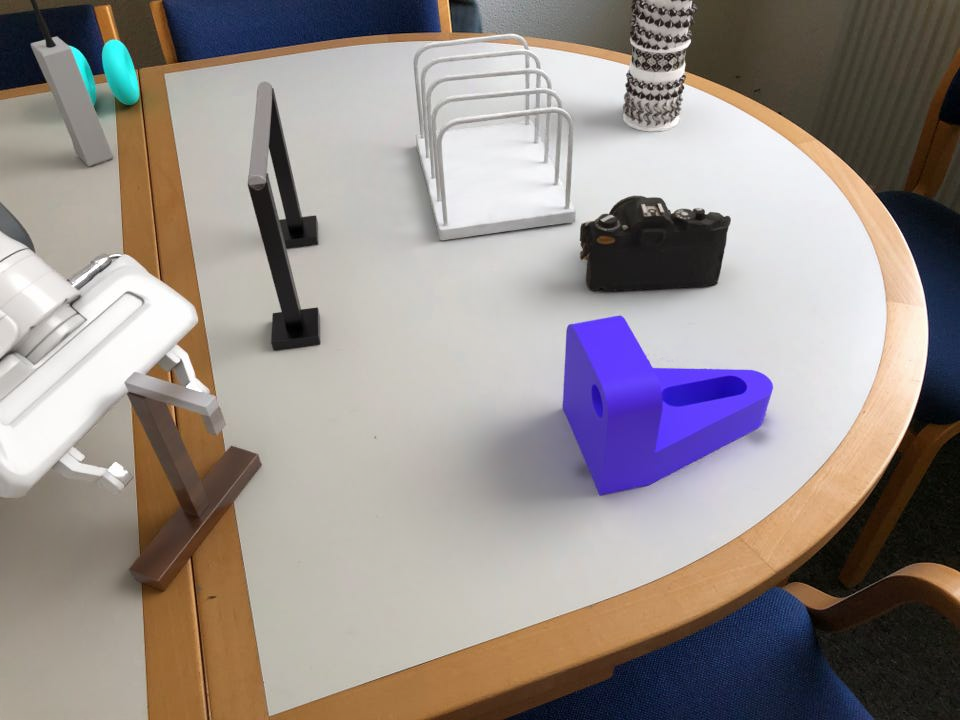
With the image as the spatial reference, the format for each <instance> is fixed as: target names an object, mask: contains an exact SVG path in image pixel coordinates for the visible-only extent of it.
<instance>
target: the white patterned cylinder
mask: <svg viewBox="0 0 960 720" xmlns="http://www.w3.org/2000/svg"><path fill="white" fill-rule="evenodd" d="M630 9H631V13H632V15H631V17H630V18H631V19H630V21H629V22H630V25H631V26H630V29H629V32H628V33H629V35H630V37H629V41H630V44H631V46H632V49H631V50H632V51H631V58H630V59H629V67H628V70H627V72H626V74H625V76H626V80H627V81H626V83H625V84H624V86H625V90H626V92H625V94H623V99H624V103H623V106H622V108H623V114H622V120H623V123H625V124H626V125H627V126H628V127H630V128H632V129H635V130H638V131H643V132H650V133H651V132H652V133H654V132H655V133H656V132H657V133H659V132H664V131H669V130H671V129H673V128H675V127H677V125H678V124H679V122H680V115H681V113H680V112H681V111H682V107H681V106H682V102H683V101H684V98H683V96H682V94H683V93H684V90H685V85H684V83H685V80H686V78H687V75H686V74H685V71H686V70H685V69H686V54H687V48H688V47H689V46H690V45H691V42H692V40H691V39H692V37H693V32H692V31H691V30H690V29H689V28H690V27H692V26H694V25H695V23H696V21H697V20H696V18H695V17H694V16H693V15H694V14H696V13H697V11H698V6H697V5H696V4H694V2H693V0H632V2H631V3H630Z"/></svg>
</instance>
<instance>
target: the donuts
mask: <svg viewBox="0 0 960 720" xmlns="http://www.w3.org/2000/svg"><path fill="white" fill-rule="evenodd" d="M68 46H69V47H70V48H71V50H72V52H73V55H74V57H75V60H76V62H77V65H78V68H79V70H80V73H81V75H82V78H83V80H84V83H85V86H86V88H87V91H88V93H89V96H90V99H91V101H92V104H93V106H94V107H95V105H96V103H97V93H98V92H97V87H96V82H95V78H94V74H93V72H92V69H91V66H90V64H89V62H88V60H87V58H86V56H84V54H83V53H82V51H80V50H79V49H78V48H76V47H75V46H72V45H68ZM101 59H102V67H103V72H104V75H105V79H106V82H107V84H108V86H109V89H110V91H111V93H112V94H113V96H114V98H116V99H117V101H118V102H120V103H122V104H124V105H126V106H133V105H135V104H136V103H137V102H138V101H139V99H140V87H139V81H138V77H137V72H136V69H135V65H134V63H133V59H132V57H131V55H130V52H129V50H128V48H127V47H126V45H125V44H124V43H123V42H121V40H118V39H110V40H108V41H106V42H105V44H104V45H103V47H102V52H101Z"/></svg>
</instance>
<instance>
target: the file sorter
mask: <svg viewBox="0 0 960 720" xmlns="http://www.w3.org/2000/svg"><path fill="white" fill-rule="evenodd" d="M505 40H515V41H518V42H520V43H521V44H522V45H523V47H524V48H519V49H508V50H497V51H485V52H476V53H466V54H465V53H464V54H456V55H454V54H453V55H445V56H439V57H438V56H437V57H435V58H432V59H430V60H429V61H427V62H426V64H425V65H424V67H423V68H422V70H421V73H420V76H419V66H418V64H419V59H420V57H421V55H422V54H423V53H424V52H425V51H428V50H430V49H435V48H443V47H453V46H459V45H461V46H462V45H470V44H477V43H487V42H496V41H505ZM521 55H522V56H525V57H524V59H525V65H524V67H525V68H513V69H501V70H500V69H499V70H490V71H488V70H487V71H478V72H477V71H476V72H467V73H466V72H465V73H457V74H455V73H454V74H445V75H442V76H439V77H438V78H435V80H433V81H432V82H431V83H430V85H429V86H428V88H426V76H427V74H428V71H429V70H430V69H431V68H432V67H433V66H435V65H437V64H440V63H448V62H449V63H451V62H459V61H467V60H468V61H469V60H476V59H477V60H479V59H488V58H497V57H500V58H501V57H509V56H510V57H511V56H521ZM530 57H531V58H532V59H533V61H534V62H535V66H536V67H531V66H530V65H531V64H530ZM541 67H542V66H541V61H540V59H539V57H538V56H537V54H535V52H533V51H532V50H530V47H529V45H528V43H527V41H526V39H525V38H523V37H522V36H521V35H519V34H516V33H505V34H504V33H503V34H496V35H486V36H478V37H477V36H476V37H469V38H468V37H467V38H458V39H452V40H451V39H450V40H443V41H433V42H428V43H425V44H423V45H421V47H420V48H418V49H417V51H416V52H415V54H414V57H413V73H414V83H415V85H414V86H415V94H416V103H417V114H418V122H419V134H416V135H415V142H416V143H415V144H416V148H417V152H418V156H419V159H420V160H419V161H420V165H421V168H422V171H423V176H424V179H425V185H426V188H427V192H428V195H429V196H428V197H429V200H430V205H431V209H432V213H433V218H434V221H435V225H436V229H437V233H438V234H437V235H438V238H439V240H440V241H446V240H454V239H455V240H456V239H461V238H462V239H463V238H467V237H476V236H482V235H489V234H490V235H491V234H496V233H503V232H512V231H517V230H524V229H531V228H540V227H545V226H547V227H548V226H554V225H561V224H569V223H574V222H576V221H577V219H576V217H577V216H576V215H577V214H576V213H577V212H576V211H577V210H576V208H575V206H574V204H573V202H572V200H571V189H572V188H571V187H572V171H573V170H572V169H573V152H574V151H573V149H574V121H573V118H572V117H571V115H570V114H569V112H567V111H566V110H565V109H564V108H563V101H562V99H561V96H560V95H559V94H558V93H557V92H556V91H555V90H553V84H552V81H551V80H552V79H551V78H550V77H549V75H548V74H547V72H546V71H544V70H543V69H542V68H541ZM530 74H533V75H534V74H535V77H536V81H535V83H536V84H535V87H531V88H530ZM519 75H525V78H524V79H525V83H524V84H525V86H524V87H525V88H520V89H511V90H509V89H508V90H500V91H498V90H497V91H490V92H489V91H488V92H477V93H466V94H456V95H449V96H447V97H444V98H442V99H441V100H440V101H439V102H437V104H436V105H434V107H433V110H432V95H433V92H434V90H435V88H436V87H438V85H440V84H443V83H445V82H452V81H462V80H463V81H465V80H472V79H485V78H494V77H495V78H496V77H509V76H519ZM419 77H420V78H419ZM541 78H543V79H544V80H545V82H546V87H541V85H542V84H541V81H542V79H541ZM426 89H427V91H426ZM541 94H546V107H541ZM530 95H535V103H534V105H535V106H534V107H535V108H532V109H530ZM517 96H525V100H524V101H525V103H524V104H525V109H523V110H515V111H506V112H498V113H489V114H480V115H472V116H464V117H458V118H454V119H451V120H449V121H447V122H446V123H445V124H443V126H442V127H441V128H440V129H439V131H437V115H438V113H439V111H440V110H441V108H443V107H444V106H445V105H447V104H449V103H453V102H465V101H475V100H485V99H496V98H506V97H507V98H508V97H517ZM553 98H554V99H555V100H556V103H557V106H552V99H553ZM540 107H541V108H540ZM552 114H557V119H556V120H557V121H556V138H555V139H556V141H555V142H556V143H555V158H554V162H553V160H552V157H551V156H550V154H549V152H550V134H551V120H552V119H551V116H552ZM540 115H545V129H544V131H545V132H544V142H543V140H542V138H541V135H540ZM530 116H534V122H533V121H532V120H530ZM520 117H525V118H524V119H525V120H522V121H515V122H507V123H497V124H491V125H481V126H474V127H466V128H458V129H452V128H453V127H455V126H458V125H463V124H473V123H480V122H488V121H496V120H504V119H505V120H506V119H513V118H520ZM563 117H564V118H565V119H566V121H567V125H568V126H567V127H568V128H567V131H568V133H567V155H566V156H567V157H566V173H565V174H566V175H565V176H566V177H565V185H564V183H563V181H562V179H561V177H560V164H561V163H560V162H561V145H562V129H563Z"/></svg>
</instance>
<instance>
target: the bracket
mask: <svg viewBox="0 0 960 720" xmlns="http://www.w3.org/2000/svg"><path fill="white" fill-rule="evenodd" d="M565 333H566V334H565V349H564V351H565V353H564V371H563V372H564V373H563V389H562V390H563V394H562V411H563V412H564V415H565V417H566V419H567V421H568V424H569V426H570V429H571V431H572V433H573V436H574V439H575V441H576V443H577V445H578V447H579V451H580V453H581V455H582V457H583V460H584V461H585V464H586V466H587V469H588V472H589V473H590V476H591V478H592V481H593V483H594V486H595V488H596V491H597V492H598V495H599V496H603V495H608V494H613V493H618V492H622V491H627V490H632V489H636V488H642V487H646V486H650V485H652V484H654V483H656V482H658V481H660V480H662V479H664V478H665V477H668V476H670V475H672V474H674V473H675V472H677V471H679V470H681V469H683V468H685V467H686V466H687V467H688V466H689V465H690V464H692V463H694V462H696V461H698V460H700V459H702V458H704V457H706V456H708V455H709V454H711V453H714V452H716V451H717V450H719V449H721V448H723V447H726V446H727V445H729V444H730V443H732V442H735V441H736V440H738V439H740V438H742V437H744V436H746V435H748V434H750V433H751V432H754V431H755V430H758V429H759V428H760V427H761V426H762V425H763V423H764V420H765V417H766V413H767V411H768V407H769V403H770V400H771V397H772V394H773V390H774V385H773V382H772V380H771V378H769V376H768V375H766V374H764V373H762V372H761V371H758V370H754V369H732V368H729V369H728V368H727V369H725V368H682V367H681V368H678V367H677V368H675V367H673V368H672V367H653V366H652V364H651V361H649V359H648V356H647V355H646V353H645V352H644V350H643V348H642V346H641V345H640V343H639V341H638V339H637V338H636V335H635V334H634V332H633V331H632V329H631V327H630V325H629V324H628V322H627V320H626V319H625V317H624V316H623V315H614V316H608V317H602V318H597V319H591V320H586V321H581V322H580V321H579V322H575V323H570V324H568V325H567V327H566V332H565Z"/></svg>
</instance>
